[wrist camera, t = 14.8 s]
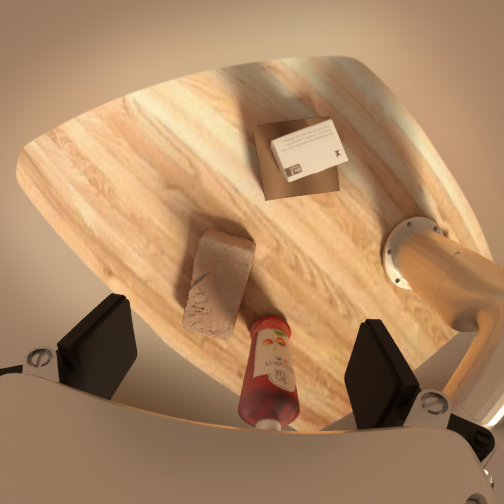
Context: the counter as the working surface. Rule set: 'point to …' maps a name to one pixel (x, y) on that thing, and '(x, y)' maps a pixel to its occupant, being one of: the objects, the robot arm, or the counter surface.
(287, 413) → the liquor
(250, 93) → the counter surface
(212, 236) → the brick
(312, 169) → the skincare box
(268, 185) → the walnut block
